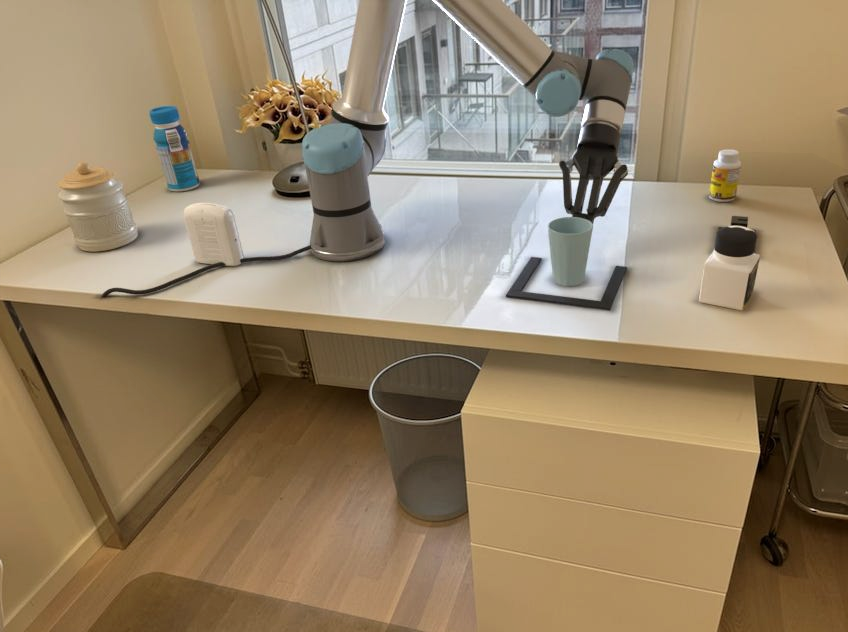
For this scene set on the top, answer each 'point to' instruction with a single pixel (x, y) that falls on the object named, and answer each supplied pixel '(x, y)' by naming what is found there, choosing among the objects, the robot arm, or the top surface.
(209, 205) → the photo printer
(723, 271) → the medicine bottle
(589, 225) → the cup
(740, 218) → the build plate
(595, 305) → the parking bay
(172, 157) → the beverage bottle
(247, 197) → the top surface
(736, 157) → the supplement bottle
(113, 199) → the jar
